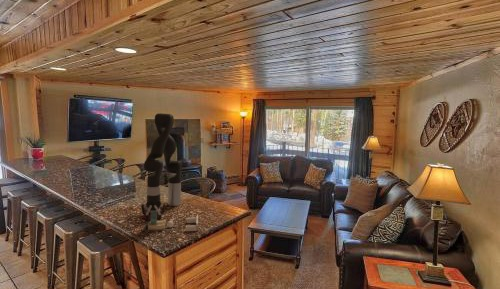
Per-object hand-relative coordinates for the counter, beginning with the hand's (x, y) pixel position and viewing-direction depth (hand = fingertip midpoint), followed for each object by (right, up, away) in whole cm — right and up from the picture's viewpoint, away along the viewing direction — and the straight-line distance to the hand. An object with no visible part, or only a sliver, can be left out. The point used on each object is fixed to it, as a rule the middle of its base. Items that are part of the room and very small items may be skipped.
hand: (153, 220), depth 158 cm
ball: (+9, -5, +2) cm, 11 cm away
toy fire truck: (-6, -3, +14) cm, 15 cm away
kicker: (+2, -4, +1) cm, 4 cm away
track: (+5, -5, +2) cm, 7 cm away
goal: (+22, -5, +5) cm, 23 cm away
